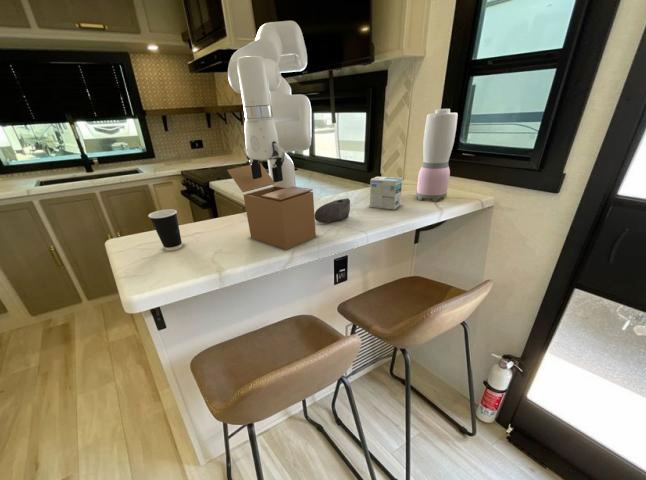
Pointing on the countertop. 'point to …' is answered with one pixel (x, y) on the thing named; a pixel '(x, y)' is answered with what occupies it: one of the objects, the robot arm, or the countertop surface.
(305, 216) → the carton
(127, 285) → the countertop surface
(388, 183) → the light bulb box
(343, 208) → the perforated stone tool
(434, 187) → the blender
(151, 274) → the countertop surface
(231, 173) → the flap
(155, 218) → the dixie cup
